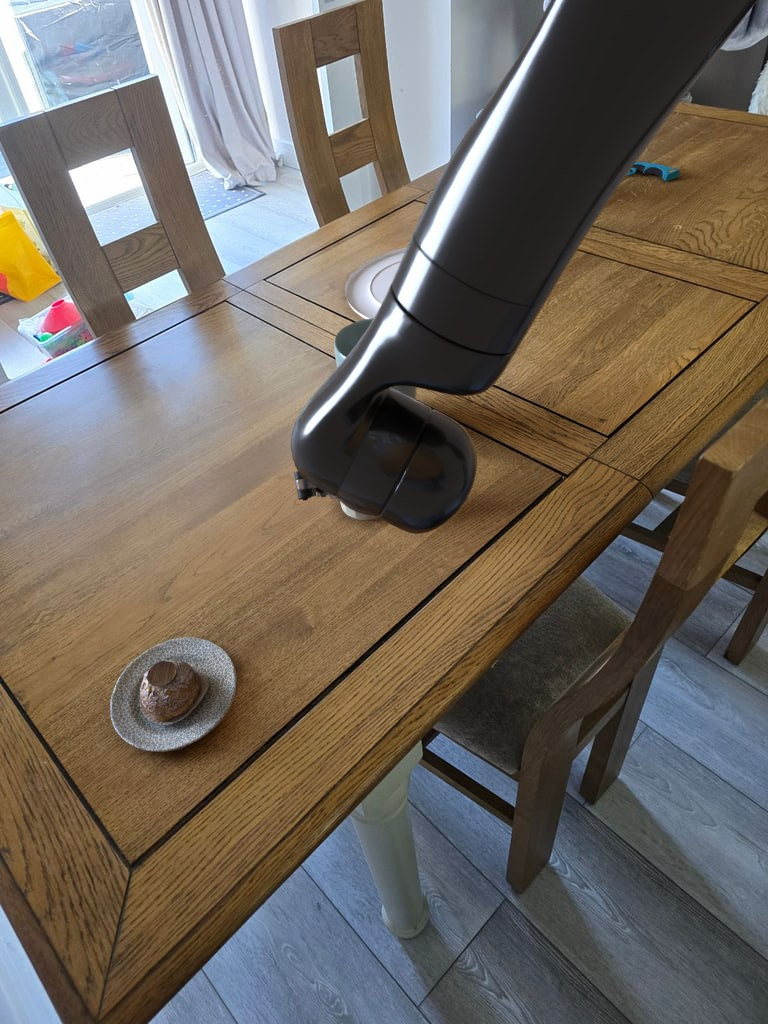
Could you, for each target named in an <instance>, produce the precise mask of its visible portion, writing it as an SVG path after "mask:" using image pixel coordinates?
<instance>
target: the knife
mask: <svg viewBox="0 0 768 1024" xmlns="http://www.w3.org/2000/svg"><path fill="white" fill-rule="evenodd" d="M636 171H639V172H642V173H643V174H644V175H646V174H648V175H656V176H658V177H661V178H662V180H664V181H665V182H669V181H672V180H674V179H676V178H679V176H680V173H681V171H680V169H678V168H675V167H671V166H667V165H664V164H658V163H654V162H645V161H636V162H635V164H634V165H633V166H632V168H631V169H630V171H629V172H628V174H627V175H626V176H632V175H635V174H636Z"/></svg>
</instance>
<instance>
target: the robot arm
mask: <svg viewBox="0 0 768 1024" xmlns="http://www.w3.org/2000/svg"><path fill="white" fill-rule="evenodd" d="M757 2H758V0H550V1H549V3H548V4H547V6H546V8H545V10H544V12H543V14H542V16H541V18H540V19H539V21H538V23H537V25H536V27H535V28H534V30H533V31H532V33H531V35H530V36H529V38H528V40H527V42H526V43H525V44H524V46H523V48H522V49H521V50H520V53H519V54H518V56H517V58H516V59H515V61H514V62H513V64H512V66H511V67H510V68H509V69H508V71H507V72H506V74H505V76H504V77H503V79H502V80H501V82H500V83H499V84H498V86H497V87H496V88H495V90H494V91H493V93H492V95H491V96H490V98H489V99H488V100H487V102H486V103H485V105H484V106H483V108H482V109H481V111H480V112H479V113H478V116H477V117H476V118H475V120H474V121H473V122H472V124H471V126H469V129H468V130H467V132H466V133H465V134H464V136H463V138H462V139H461V141H460V142H459V143H458V146H457V147H456V149H455V150H454V152H453V154H452V156H451V157H450V159H449V160H448V162H447V164H446V166H445V168H444V169H443V171H442V173H441V174H440V176H439V178H438V180H437V182H436V184H435V186H434V188H433V189H432V192H431V194H430V196H429V198H428V200H427V202H426V204H425V206H424V208H423V209H422V210H423V211H422V212H421V214H420V216H419V219H418V221H417V223H416V226H415V228H414V231H413V233H412V235H411V237H410V240H409V242H408V244H407V246H406V247H407V249H406V251H405V253H404V256H403V258H402V260H401V263H400V265H399V267H398V269H397V272H396V274H395V276H394V279H393V281H392V283H391V286H390V288H389V290H388V292H387V294H386V296H385V298H384V300H383V302H382V304H381V306H380V308H379V310H378V312H377V314H376V315H375V317H374V319H373V320H372V322H371V324H370V325H369V327H368V329H367V330H366V332H365V333H364V335H363V336H362V337H361V339H360V340H359V342H358V343H357V345H356V346H355V347H354V348H353V350H352V351H351V352H350V353H349V355H348V356H347V357H346V358H345V360H344V361H343V362H342V363H341V364H340V365H339V366H338V368H337V367H336V368H335V370H334V371H332V373H331V374H330V375H329V376H328V377H327V378H326V380H325V381H324V382H323V383H322V384H321V385H320V386H319V387H318V388H317V390H316V391H315V392H314V393H313V394H312V395H311V397H310V398H309V399H308V400H307V402H306V403H305V405H304V406H303V407H302V409H301V411H300V412H299V414H298V415H297V417H296V420H295V422H294V424H293V428H292V431H291V438H290V449H291V450H290V452H291V458H292V461H293V464H294V466H295V468H296V471H294V472H293V476H294V482H295V487H296V492H297V497H298V500H299V501H303V502H304V501H308V500H309V499H311V498H313V497H317V498H322V499H323V498H327V496H328V497H329V498H330V499H331V500H336V499H338V500H339V501H341V502H342V503H343V504H344V505H345V506H347V507H348V508H350V509H352V510H354V511H356V512H358V513H361V514H366V515H373V516H375V517H376V516H378V518H377V519H379V520H381V521H383V522H385V523H387V524H389V525H390V526H392V527H395V528H396V529H399V530H401V531H403V532H406V533H408V534H415V535H421V534H425V533H429V532H432V531H434V530H437V529H438V528H440V527H442V526H443V525H445V524H447V523H448V522H449V520H451V519H452V518H453V517H454V516H455V515H456V514H457V513H458V512H459V511H460V509H461V508H462V507H463V505H464V504H465V503H466V501H467V499H468V497H469V495H470V493H471V491H472V489H473V486H474V483H475V479H476V475H477V471H478V454H477V448H476V445H475V442H474V439H473V438H472V436H471V435H470V433H469V432H468V430H467V429H466V428H465V427H464V426H463V425H462V424H460V423H459V422H458V421H457V420H454V419H453V418H452V417H450V416H448V415H446V414H444V413H442V412H440V411H439V410H437V409H432V407H430V406H429V405H426V404H425V403H423V402H421V401H419V400H417V399H416V400H415V399H413V398H411V397H409V396H407V395H405V394H403V393H401V392H399V391H397V390H396V389H394V388H390V387H393V386H412V387H417V389H423V390H427V391H430V392H431V391H432V392H436V393H439V394H443V395H444V394H445V395H450V396H458V397H473V396H476V395H480V394H482V393H485V392H487V391H488V390H489V389H491V388H492V387H493V386H494V385H495V384H496V383H497V382H498V380H499V379H500V378H501V377H502V376H503V374H504V372H505V371H506V369H507V368H508V366H509V364H510V362H511V361H512V360H513V357H514V356H515V354H516V352H517V351H518V349H519V348H520V346H521V345H522V343H523V341H524V339H525V338H526V337H527V334H528V333H529V331H530V329H531V327H532V326H533V324H534V323H535V321H536V319H537V318H538V316H539V314H540V313H541V311H542V309H543V308H544V306H545V305H546V302H547V301H548V300H549V298H550V296H551V295H552V293H553V292H554V290H555V287H556V286H557V284H558V283H559V281H560V279H561V278H562V276H563V274H564V272H565V271H566V269H567V268H568V265H569V264H570V262H571V261H572V259H573V257H574V256H575V255H576V253H577V251H578V249H579V247H581V244H583V242H584V240H585V238H586V236H587V235H588V233H589V232H590V230H591V229H592V227H593V225H594V224H595V223H596V221H597V220H598V218H599V217H600V215H601V213H602V212H603V210H604V209H605V207H606V206H607V204H608V203H609V201H610V200H611V198H612V197H613V195H614V194H615V192H616V191H617V190H618V189H619V187H620V185H621V184H622V182H623V181H624V180H625V178H626V177H627V176H628V175H627V174H628V173H629V171H630V169H631V168H632V166H633V165H634V164H635V162H638V159H639V158H640V157H641V155H642V154H643V153H644V152H645V150H646V149H647V147H648V146H649V144H650V143H651V141H653V139H654V137H655V136H656V135H657V133H658V132H659V131H660V130H661V128H662V127H663V125H664V124H665V122H666V121H667V120H668V119H669V117H670V116H671V115H672V113H674V110H675V109H676V108H677V106H678V105H679V104H680V102H681V101H682V100H683V99H684V97H685V96H686V94H687V93H688V92H689V91H690V90H691V88H692V86H693V85H694V84H695V83H696V81H697V80H698V79H699V78H700V77H701V75H702V74H703V72H704V71H705V70H706V68H707V67H708V66H709V65H710V63H712V60H713V59H714V58H715V56H716V55H717V54H718V53H719V52H720V50H721V49H722V47H723V46H724V45H725V44H726V42H727V41H728V40H729V39H730V37H731V36H732V35H733V33H734V32H735V31H736V29H738V27H739V26H740V24H741V23H742V22H743V20H744V19H745V18H746V16H747V15H748V14H749V13H750V11H751V10H752V9H753V7H754V6H755V5H756V4H757ZM630 172H631V171H630ZM341 502H340V503H341Z"/></svg>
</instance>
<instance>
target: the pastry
mask: <svg viewBox="0 0 768 1024" xmlns="http://www.w3.org/2000/svg"><path fill="white" fill-rule="evenodd" d="M237 685H238V679H237V669H236V667H235V664H234V660H233V659H232V658H231V656H230V655H229V653H228V652H227V651H226V650H225V649H223V648H222V647H221V646H219V645H218V644H216V643H214V642H213V641H211V640H208V639H203V638H198V637H193V636H191V637H189V636H185V637H176V638H171V639H168V640H166V641H163V642H161V643H158V644H156V645H154V646H152V647H150V648H148V649H147V650H145V651H144V652H143V653H141V654H140V655H138V656H137V657H136V658H134V659H133V660H131V662H130V663H129V664H128V665H127V666H126V667H125V669H124V670H123V672H122V673H121V674H120V676H119V677H118V679H117V681H116V683H115V686H114V689H113V692H112V693H111V696H110V719H111V722H112V723H111V724H112V726H113V728H114V730H115V732H116V733H117V734H118V736H119V737H120V738H121V739H122V740H124V742H126V743H128V744H129V745H130V746H132V747H134V748H137V749H140V750H143V751H147V752H155V753H157V752H158V753H162V752H164V753H165V752H171V751H180V750H182V749H184V748H187V746H189V745H191V744H193V743H196V742H197V741H199V740H201V739H202V738H204V737H205V736H206V735H208V734H209V733H210V732H212V730H214V729H215V728H216V727H217V726H218V725H219V723H221V721H222V720H223V719H224V718H225V716H226V715H227V713H228V712H229V710H230V708H231V706H232V704H233V702H234V700H235V695H236V692H237V687H238V686H237Z"/></svg>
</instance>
